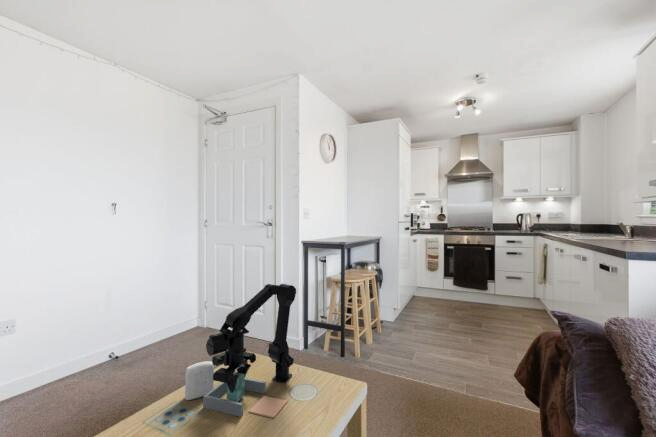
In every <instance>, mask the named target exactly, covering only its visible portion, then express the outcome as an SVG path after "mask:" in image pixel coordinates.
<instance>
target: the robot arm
mask: <svg viewBox="0 0 656 437" xmlns="http://www.w3.org/2000/svg"><path fill="white" fill-rule="evenodd" d="M296 294H297V288H296V287H295V286H294V285H292V284H287V283H281V284H280V283H279V285H278V284H270V283H267V284H265V285H264V286H263V288H262V289H261V290H259V292H258V293H256V295H254V296H253V297H252V298H251V299H249V300H248V302H246V303H245V304H244V305H242V306H241V307H238V308H235V309H234V310H232V311H231V312H229V313H228V314H227V315H226V317H225V321H224V322H223V324H222V326H221V327H220V329H219V333H218V332H217V333H215V334H210V335H209V336H208V337H209V338H208V339H207V341H206V344H205V348H206V352H207V354H208V356H210V357H211V356H212V359H211V362H212V363H213V365H214V366H216V367H218V366H220V365H223V366H225V367H219V369H218V370H216V371H214V374H213V380H214V382H220V383H222V382H224V383H227V385H228V388H229V390H230V392H231V393H233V392H234V388H235V384H236V380H237V377H238V375H235V372H237V373H242V374H244V378H246V375H247V374H248V372H249V369H250V368H251V367H252V364H253V363H255V362H256V361H257V356H256V354H255V353H254V352H248V351H247V348H245V334H248V333H250V330H248V329H247V328H246V326H247V325H248V324H249V323H250V320H251V319H252V316H253V315H254V314H255V313H256V312H257V311H258V310H259V309H260V308H261V307H262V306H263V305H265V303H266V302H267V301H269V300H270V298H272V297H273V296H274V295H276V301H277V303H278V308H277V309H278V311H277V318H276V327H275V335H274V339H273V341H272V342H269V344H268V349H267V350H268V351H267V354H268V357H269V358H270V360H271V361H272V363H274V364H275V376H274V377H272V381H277V382H281V383H287V382H288V381H289V380H290V379H291V378H292V377H293V373H290V367H291V366H292V365H294V361H295V360H294V359H295V358H293V357H292V356H291V355H290V349H289V348H290V347H289V345H288V342H287V336H288V328H289V320H290V312H291V306H292V304H293V302H294V301H295V299H296ZM229 328H230V329H229ZM248 361H249V363H250V364H249V363H248ZM227 366H228V367H227Z"/></svg>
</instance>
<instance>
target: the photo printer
mask: <svg viewBox="0 0 656 437" xmlns="http://www.w3.org/2000/svg"><path fill="white" fill-rule="evenodd" d="M214 373H215V365H213V363H212V361H210V360H209V361H205V360H204V361H200V362H197V363H194V364H190V365H189V366H188V367H186V371H185V379H184V381H185V382H184V384H185V387H184V390H185V391H184V399H185V400H186V401H190V400H194V399H198V398H201V397H203V396H204V395H206V394H207V393H208V392H210V391H211V390H213V389H214V388H215V386H214V385H215V384H214V383H215V381H214V380H213V374H214Z"/></svg>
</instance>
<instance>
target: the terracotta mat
mask: <svg viewBox="0 0 656 437" xmlns="http://www.w3.org/2000/svg"><path fill="white" fill-rule="evenodd" d="M287 403H288V400H284V399H280V398H275V397H271V396H267V395H263V396H262V397H261V398H260V399H259V400H258V401H257V402H256V403H255V404H254V405H253V406H252V407H251V408H250V409H249V410H248V413H250V414H254V415H259V416H262V417H267V418H271V419H275V418H276V417H277V415H278V414H279V413H280V412H281V411H282V409H283V408H284V407H285V406H286V404H287Z"/></svg>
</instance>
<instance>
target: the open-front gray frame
mask: <svg viewBox="0 0 656 437" xmlns="http://www.w3.org/2000/svg"><path fill="white" fill-rule="evenodd" d="M266 385H267V382H266V381H262V380H257V379H252V378H248V377H245V378H244V391H250V392H255V393H259V394H266V393H267V390H266V389H267V388H266V387H267V386H266ZM225 393H227V383H224V382H220V383H218V385H216V386H214V389H213V390H211V391H210V392H208V393H207V394H206V395H204V396H202V397H203V398H202V401H203V402H202V408H203V409H207V410H211V411H215V412H220V413H224V414H228V415H230V416H231V415H232V416H237V417H240V418H241V417H242V418H243V415H244V414H243V413H244V403H242V402H239V401H238V402H236V401H231V400H227V398H226V399H224V398H221V397H222V396H223V395H224V394H225Z"/></svg>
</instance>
